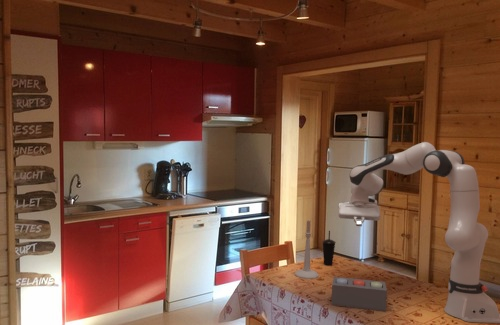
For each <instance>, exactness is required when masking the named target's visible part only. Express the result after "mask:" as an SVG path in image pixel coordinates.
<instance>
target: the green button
mask: <svg viewBox="0 0 500 325" xmlns="http://www.w3.org/2000/svg"><path fill="white" fill-rule="evenodd" d="M371 287H380V288H382V283H380V282H371Z"/></svg>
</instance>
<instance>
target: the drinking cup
mask: <svg viewBox="0 0 500 325" xmlns="http://www.w3.org/2000/svg"><path fill="white" fill-rule="evenodd" d="M330 237H331V231H330V230H328V239H324V240H322V242H321V243H322V251H323V252H322V253H323V256H322V257H323V265H324V266H327V267H329V266H330V267H331V266H333V263H334V254H335V248H336V241H335V240H333V239H331V238H330Z"/></svg>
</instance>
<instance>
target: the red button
mask: <svg viewBox="0 0 500 325" xmlns="http://www.w3.org/2000/svg"><path fill="white" fill-rule="evenodd" d="M362 280H363V279H362ZM362 280H354V283H353V285H361V286H364V285H365V282H364V281H362Z"/></svg>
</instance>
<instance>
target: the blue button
mask: <svg viewBox="0 0 500 325" xmlns="http://www.w3.org/2000/svg"><path fill="white" fill-rule="evenodd" d="M344 278H345V277H342V278H338V279H337V280H336V283H342V284H347V279H344Z"/></svg>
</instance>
